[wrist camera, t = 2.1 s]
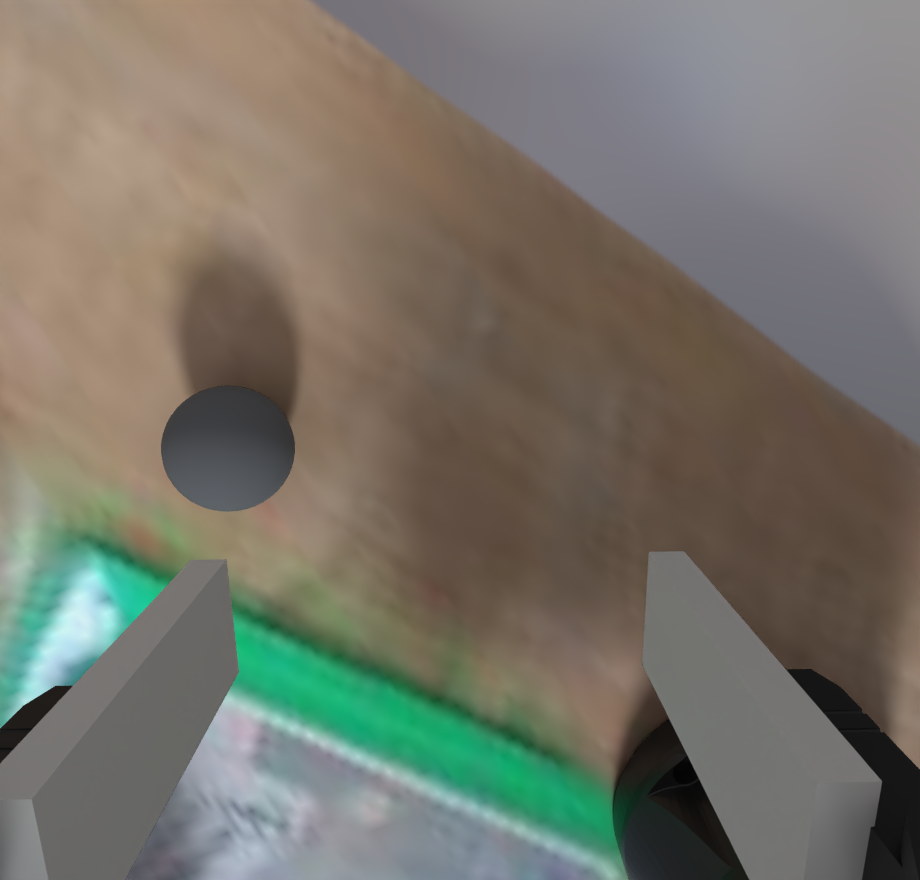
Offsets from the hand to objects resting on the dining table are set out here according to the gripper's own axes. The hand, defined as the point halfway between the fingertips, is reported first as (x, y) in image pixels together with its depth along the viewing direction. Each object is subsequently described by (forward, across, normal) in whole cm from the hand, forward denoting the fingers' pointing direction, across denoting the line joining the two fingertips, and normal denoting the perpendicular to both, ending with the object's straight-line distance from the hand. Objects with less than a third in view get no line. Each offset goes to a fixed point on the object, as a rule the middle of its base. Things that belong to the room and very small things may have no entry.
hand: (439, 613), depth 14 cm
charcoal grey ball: (+15, +10, 0) cm, 18 cm away
